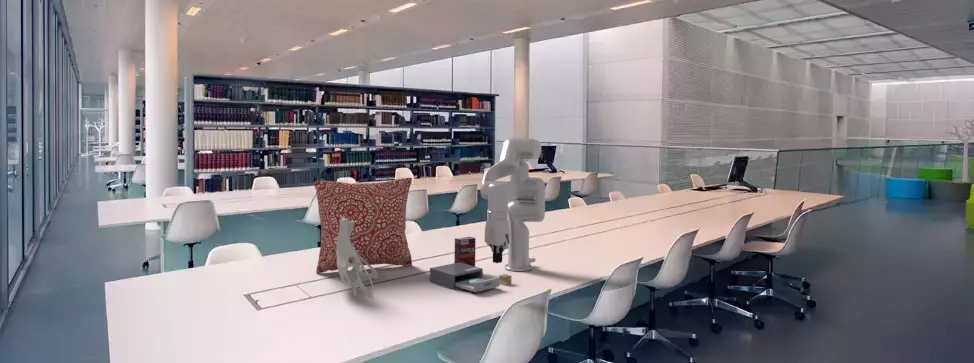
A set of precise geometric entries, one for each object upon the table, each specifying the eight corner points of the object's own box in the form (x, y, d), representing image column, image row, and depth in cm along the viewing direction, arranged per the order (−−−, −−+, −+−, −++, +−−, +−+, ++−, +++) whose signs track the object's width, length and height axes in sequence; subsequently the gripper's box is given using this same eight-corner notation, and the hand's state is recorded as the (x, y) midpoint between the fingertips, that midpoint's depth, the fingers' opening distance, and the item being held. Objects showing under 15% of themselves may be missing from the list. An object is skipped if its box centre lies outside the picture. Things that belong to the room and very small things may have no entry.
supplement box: (459, 275, 257) (459, 240, 255) (454, 273, 260) (453, 238, 259) (476, 272, 262) (476, 237, 260) (469, 270, 265) (469, 236, 264)
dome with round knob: (476, 281, 240) (476, 277, 240) (486, 284, 236) (486, 280, 235) (465, 284, 236) (465, 280, 236) (475, 287, 232) (475, 283, 231)
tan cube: (505, 282, 246) (505, 273, 245) (511, 283, 243) (511, 275, 243) (499, 283, 243) (499, 275, 243) (505, 285, 241) (505, 277, 240)
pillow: (318, 278, 251) (315, 181, 247) (314, 269, 266) (312, 178, 262) (416, 269, 267) (416, 178, 263) (408, 262, 282) (407, 176, 278)
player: (459, 275, 256) (459, 261, 256) (483, 282, 244) (483, 268, 244) (430, 282, 245) (429, 267, 245) (453, 289, 234) (453, 274, 233)
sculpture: (386, 301, 218) (385, 222, 215) (338, 305, 213) (336, 224, 211) (379, 279, 249) (378, 210, 246) (337, 282, 244) (335, 211, 242)
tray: (475, 279, 246) (475, 270, 246) (499, 286, 235) (499, 277, 235) (451, 284, 237) (451, 276, 237) (475, 292, 226) (475, 283, 226)
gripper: (477, 214, 227) (477, 260, 228) (504, 218, 215) (504, 267, 217) (491, 212, 232) (491, 257, 233) (518, 216, 221) (518, 264, 222)
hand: (497, 262), depth 225 cm, fingers closed
